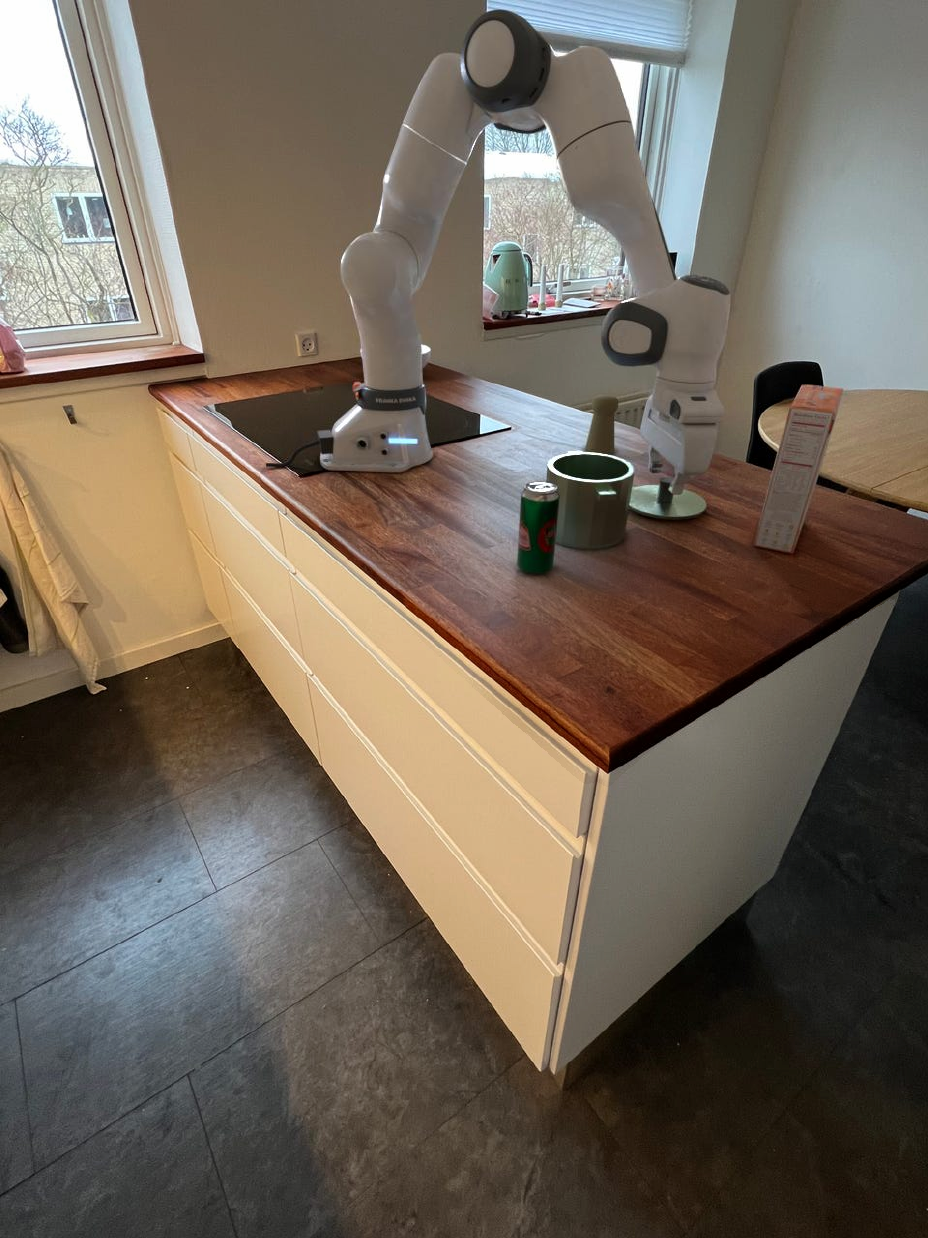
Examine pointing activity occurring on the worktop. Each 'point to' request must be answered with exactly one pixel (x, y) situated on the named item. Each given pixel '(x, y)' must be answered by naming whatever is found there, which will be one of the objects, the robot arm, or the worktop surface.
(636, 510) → the lid
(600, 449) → the beige pestle
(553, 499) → the soda can
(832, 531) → the worktop surface
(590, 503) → the pot
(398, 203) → the robot arm
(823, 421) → the cracker box
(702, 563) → the worktop surface
